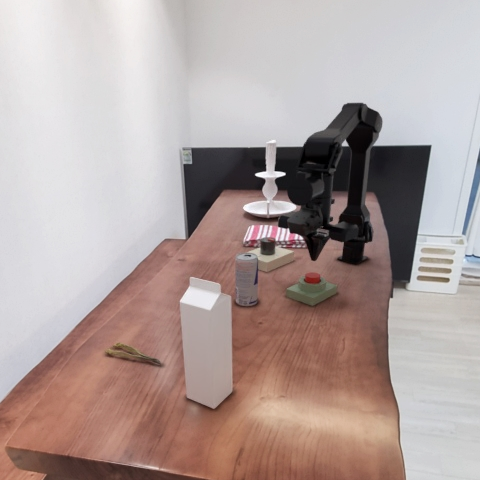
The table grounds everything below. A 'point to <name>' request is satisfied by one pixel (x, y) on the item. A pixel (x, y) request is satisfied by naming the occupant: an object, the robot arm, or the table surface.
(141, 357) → the dried herb bundle
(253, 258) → the energy drink
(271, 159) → the candlestick
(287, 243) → the dish towel
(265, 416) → the table surface
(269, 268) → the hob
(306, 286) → the button base
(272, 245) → the knob
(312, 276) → the button
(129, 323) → the table surface
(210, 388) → the milk
